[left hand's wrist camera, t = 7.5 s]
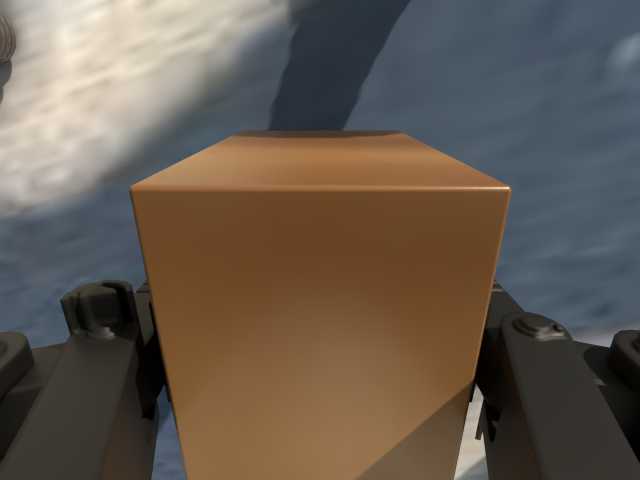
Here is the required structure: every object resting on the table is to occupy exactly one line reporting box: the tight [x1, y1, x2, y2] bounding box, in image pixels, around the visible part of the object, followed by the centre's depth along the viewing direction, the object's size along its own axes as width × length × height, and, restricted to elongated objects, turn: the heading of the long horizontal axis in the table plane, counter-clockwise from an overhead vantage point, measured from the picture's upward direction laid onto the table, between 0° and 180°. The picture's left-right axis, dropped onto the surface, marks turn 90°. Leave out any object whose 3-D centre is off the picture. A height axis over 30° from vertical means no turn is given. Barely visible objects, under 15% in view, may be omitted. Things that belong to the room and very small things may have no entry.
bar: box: [130, 130, 511, 480], centre depth 14 cm, size 23×6×8 cm, turn 0°
